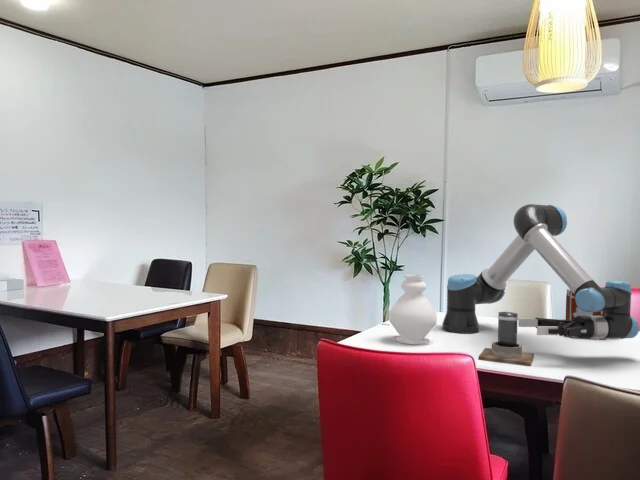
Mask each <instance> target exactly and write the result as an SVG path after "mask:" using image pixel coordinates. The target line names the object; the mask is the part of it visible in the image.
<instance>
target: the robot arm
mask: <svg viewBox="0 0 640 480" xmlns="http://www.w3.org/2000/svg"><path fill="white" fill-rule="evenodd" d="M567 219H568V218H567V214H566V212H565V211H564V209H562V208H561V207H559V206H556V205H552V204H534V203H529V204H525V205H523V206H521V207H519V208H518V209H517V210H516V212H515V214H514V216H513V226H514V229H515V231H516V233H517V235H516V237H514V239H513V240H512V242H510V244H509V245H508V246H507V247H506V248H505V250H504V251H503V252H502V253H501V254H500V255H499V257H498V258H497V259H496V260H495V261H494V263H493V264H491V266H490V267H489V268H485V269H483V270H482V271H481V272H480V274H479V275H478V276H476V275H475V274H470V273H464V274H463V273H462V274H454V275H451V276H450V277H448V279H447V285H446V289H447V292H446V293H447V294H446V313H445V315H444V317H443V321H442V325H441V327H442V328H441V329H442V331H443V330H444V331H446V332H450V333H455V334H476V333H479V332H480V325H479V321H478V318H477V317H478V316H477V315H476V314H477V313H476V305H484V304H485V305H487V304H490V305H492V304H494V303H497V302H499V301H501V300H502V299H503V297H504V295H505V294H506V292H505V291H506V287H507V281H508V280H509V279H510V278H511V277H512V275H514V273H515V272H516V271H517V270H518V269H519V268H520V267H521V266H522V264H523V263H524V262H525V261H526V260H527V259H528V258H529V257H530V256H531V254H532V253H533V252H534V251H536V252H537V253H538V255H540V257H541V258H542V260H544V261H545V262H546V264H547V265H548V266H549V267H550V268H551V269H552V271H554V273H555V274H556V275H557V276H558V277H559V278H560V280H561V281H562V282H563V283H564V284H565V285H566V287H567V288H568V289H569V288H570V289H571V291H572V292H573V293H574V294H575V295H576V297H575V301H576V305H577V306H578V308H579V309H581V310H582V311H585V312H599V311H604V310H605V316H576V317H575V318H574V320H573V322H571V320H566V319H556V318H555V319H554V318H545V317H535V318H518V321H517V328H518V327H519V328H535V329H536V335H537V336H562V337H564V338H567V337H571V336H577V337H578V338H577V339H584V338H596V339H595V340H596V341H599V340H600V339H599V338H605V339H615V340H617V339H621V340H623V339H625V340H626V339H633V338H635V337H636V336H638V334H639V330H640V326H639V325H638V323H639V322H638V320H637V319H636V318H635V317H634V316H631V309H632V305H631V304H632V286H631V283H630V282H628V281H627V280H626V281H625V280H624V281H623V280H606V282H605V286H604V287H601V286H600V285H599V284H598V283H597V282H596V281H595V280H594V279H593V278H592V277H591V275H589V274H588V273H587V271H586V270H584V269H583V267H582V266H581V265H580V264H579V263H578V261H576V260H575V258H573V256H572V255H571V254H570V253H569V252H568V251H567V250H566V249H565V247H563V246H562V244H561V243H560V242H559V241H558V240H557V239H556V238H555V237H556V236H559V235H561V234H563V233H564V232H565V230H566V228H567V225H568V220H567Z"/></svg>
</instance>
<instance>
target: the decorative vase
mask: <svg viewBox="0 0 640 480" xmlns="http://www.w3.org/2000/svg"><path fill="white" fill-rule="evenodd" d="M403 278H404V279H405V280H403V281H402V283H401V284H400V288H401V290H403V291H404V292H405V293H403V294H402V295H400V297H399V298H398V299H397V300H396V301H395V303H393V305H392V307H391V308H390V311H389V318H388V319H389V322H390V324H391V325H392V327H393V328H394V329H395V331H396V333H397V334H398V335H399V336H396V337H395V341H396V342H398V343H401V344H406V345H427V344H429V343H430V339H429V338H427V337H426V336H427V335H428V334H429V333H430V332H432V330H433V328H434V327H435V326H436V325H437V322H438V317H437V316H438V315H437V312H436V309H435V307H434V306H433V304H432V303H431V302H430V301H429V299H427V298H426V296H425V295H424V294H423V292H424V291H426V289H427V284H426V282H424V281H423V280H422V279H424V278H425V275H422V274H404V275H403Z"/></svg>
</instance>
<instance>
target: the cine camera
mask: <svg viewBox="0 0 640 480" xmlns="http://www.w3.org/2000/svg"><path fill="white" fill-rule="evenodd" d="M575 297H576V295H575V294H574V293H573V292H572V291H571V289H570V288H569V287H568V288H567V289H566V297H565V298H566V299H565V320H571V322H573V320H574V318H575V317H576V316H605V310H604V311H599V312H585V311H582V310H581V309H579V308H578V306H577V305H576V301H575ZM570 337H571V338H573V339H579V338H578V337H577V336H570ZM605 339H606V338H599V340H605ZM589 340H596V338H590V339H589Z"/></svg>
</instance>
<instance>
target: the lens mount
mask: <svg viewBox="0 0 640 480" xmlns="http://www.w3.org/2000/svg"><path fill="white" fill-rule="evenodd" d="M534 357H535V353H534V352H533V353H532V352H524V351H523V344H521V343H517V347H503V346H498V341H493V342H492V343H491V347H490V348H489V347H485V348H484V349H483V350H482V351H481V353H480V354H479V355H478V358H477V359H478V360H481V361H488V362H497V363H505V364H512V365H518V366H519V365H520V366H527V367H528V366H529V367H531V366H532V363H533V360H534Z"/></svg>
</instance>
